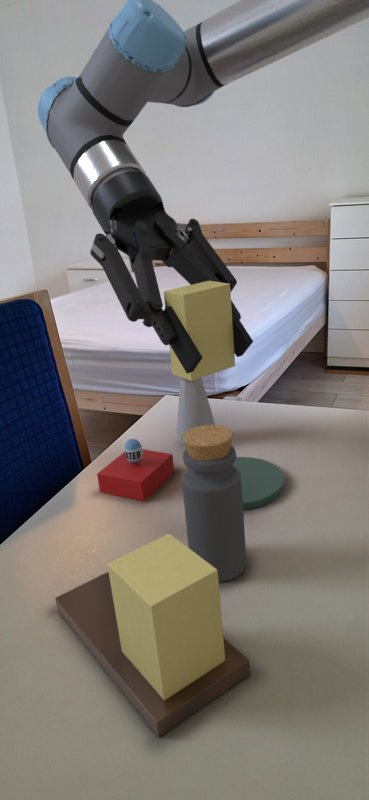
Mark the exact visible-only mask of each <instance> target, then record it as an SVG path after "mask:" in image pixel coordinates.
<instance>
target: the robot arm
mask: <svg viewBox="0 0 369 800" xmlns="http://www.w3.org/2000/svg"><path fill="white" fill-rule="evenodd" d="M367 19H369V0H238V1H237V2H235V3H233V4H231V5H229V6H228V7H226V8H224V9H222V10H220V11H218V12H217V13H215V14H213V15H211V16H210V17H208V18H205V19H204V20H202V21H201V22H199V23H197V24H195V25H194V26H191V27H190V28H188V29H186V30H183V29H182V27H181V26H180V24H178V22H177V21H176V20H175V19H174V18H173V17H172V15H171V14H170V13H168V11H167V10H165V9H164V8H163V7H162V6H161V5H160V4H158V3H157V2H155V1H154V0H127V1H126V2H125V3H124V5H123V6H122V8H121V9H120V11H119V12H118V13H117V14H116V15H115V16H114V18H112V20H111V21H110V22H109V26H108V28H107V29H106V31H105V33H104V34H103V37H102V38H100V39H101V40H100V41H99V43H98V44H97V46H96V48H95V49H94V51H93V53H92V54H91V56H90V58H89V59H88V61H87V63H86V64H85V65H84V67H83V70H81V72H80V74H79V76H78V77H76V76H65V77H60V78H58V79H56V80H55V82H54V83H53V84H52V85H50V86H46V88H45V89H44V90H43V92H42V93H41V95H40V98H39V100H38V103H37V115H38V119H39V122H40V123H41V126H42V128H43V130H44V132H45V134H46V138H47V141H48V143H49V145H50V146H51V147H52V148H53V149H54V150H55V152H56V153H57V155H58V156H59V158H60V159H61V161H62V163H63V164H64V167H66V169H67V171H68V172H69V175H70V176H71V179H72V180H73V181H74V183H75V185H76V187H77V188H78V190H79V192H80V194H81V195H82V198H84V200H85V202H86V203H87V205H88V207H89V209H91V211H92V214H93V216H94V218H95V219H96V221H97V223H98V224H99V227H100V228H101V229H102V231H103V233H104V234H103V233H96V234H95V236H94V239H93V242H92V245H91V248H90V251H89V253H90V256H92V258H93V259H94V260H95V261H96V262H97V263H98V264H99V265H100V266H101V268H102V269H103V271H104V273H105V275H106V277H107V280H108V282H109V283H110V286H111V287H112V290H113V291H114V293H115V295H116V298H117V299H118V302H119V304H120V306H121V308H122V310H123V312H124V314H125V315H126V318H127V319H128V320H129V321H130V322H133V323H134V322H137V321H138V320H143V321H142V324H143V326H145V327H147V328H153V330H154V332H155V333H156V335H157V337H158V338H159V340H160V342H161V343H162V344H163V345H164V346H169V345H170V346H171V348H172V349H173V351H174V353H175V354H176V356H177V358H178V359H179V361H180V363H181V364H182V366H183V368H184V370H185V371H186V373H187V374H188V373H191V372H193V371H194V369H195V368H196V367H197V365H198V364H199V362H200V361H201V359H202V358H203V357H202V356H201V354H200V352H199V351H198V349H197V347H196V346H195V344H194V342H193V341H192V339H191V337H190V336H189V334H188V332H187V331H186V330H185V328H184V326H183V325H182V323H181V321H180V320H179V318H178V316H177V315H176V313H175V311H174V310H173V308H172V307H171V306H169V307H165V306H164V303H163V299H162V296H161V292H160V288H159V283H158V280H157V276H156V275H157V274H156V272H155V268H154V263H153V261H161V262H162V263H163V264H164V265H165V266H166V267H168V268H173V269H174V270H175V271H176V272H177V274H179V275H180V276H181V277H182V278H183V279H184V280H185V281H186V282H187V283H189V284H188V285H193V284H197V283H201V282H206V281H214V282H221V283H228V284H230V292H231V293H232V291H233V290H234V288H235V287H236V285H237V283H238V281H237V279H236V277H235V276H234V275H233V273H232V272H231V270H230V269H229V268H228V266H227V265H226V264H225V263H224V261H223V260H222V259H221V257H220V256H219V254H218V253H217V252H216V250H215V249H214V247H213V246H212V245H211V244H210V242H209V241H208V240H207V238H206V237H205V235H204V234H203V231H202V228H201V225H200V222H199V221H198V220H197V219H195V218H190V219H189V220H188V223H180V222H177V221H176V220H175V219H174V218H173V217H172V216H170V215H169V214H168V213H167V212H166V210H165V206H164V201H163V198H162V196H161V194H160V193H159V191H158V190H157V189H156V186H155V185H154V184H153V182H152V181H151V179H150V177H149V176H148V175H147V173H146V171H145V169H144V167H143V166H142V165H141V163H140V162H139V160H138V159H137V157H136V156H135V154H134V153H133V151H132V149H131V148H130V146H129V145H128V143H127V142H126V140H125V138H124V134H125V133H126V131H127V130H128V129H129V127H130V126H132V124H133V123H134V122H135V120H136V119H137V118H138V116H139V114H140V113H141V112H142V110H143V109H144V107H145V106H146V105H147V104H148V103H155V104H166V105H173V106H176V107H179V108H191V107H193V106H199V105H201V104H203V103H206V102H207V101H208V100H209V99H210V98H211V97H212V96H213V95H214V93H215V92H216V91H217V90H220V89H221V88H223V87H225V86H226V85H227V86H228V85H229V84H231V83H234V82H235V81H238V80H240V79H243V78H244V77H246V76H248V75H251V74H252V73H254V72H256V71H258V70H260V69H263V68H266V67H267V66H269V65H271V64H273V63H276V62H278V61H280V60H282V59H284V58H286V57H288V56H291V55H292V54H295V53H297V52H299V51H301V50H303V49H306V48H307V47H309V46H312V45H313V44H314V45H315V44H316V43H318V42H320V41H323V40H324V39H326V38H328V37H332V36H333V35H336V34H337V33H340V32H342V31H344V30H346V29H348V28H350V27H352V26H354V25H356V24H359V23H361V22H363V21H365V20H367ZM120 252H121V253H123V254H125V255H126V256H127V257H128V261H129V265H130V269H131V272H132V273H134V277H135V278H133V276H132V274H131V272H130V270H129V268H128V266H127V264H126V263H125V261H124V258H123V257H122V255H121V253H120ZM134 279H135V280H134ZM163 307H164V309H163ZM231 307H232V323H233V338H234V353H235V357H236V358H240V357H242V356H244V354H245V353H246V351H247V350H248V349H249V348H250V347H251V346H252V344H254V340H253V339H252V336H250V334H249V332H248V331H247V329H246V328H245V326H244V324H243V323H242V322H241V319H242V315H241V313H240V311H239V310H238V308H237V307H236V305H235V304H234V302H233V300H232V299H231Z"/></svg>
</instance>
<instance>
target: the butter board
mask: <svg viewBox="0 0 369 800" xmlns="http://www.w3.org/2000/svg"><path fill="white" fill-rule="evenodd" d="M54 600H55V605H56V609H57V611H58V613H59V615H61V616H62V618H63V619H64V620H65V622H66V623H67V625H69V626H70V628H71V629H72V630H73V631H74V633H75V634H76V635H77V636H78V638H79V639H80V640H81V642H82V643H83V644H84V645H85V646H86V648H87V649H88V650H89V652H90V653H91V654H92V656H93V657H94V658H95V659H96V660H97V662H98V663H99V664H100V665H101V667H102V668H103V669H104V671H105V672H106V673H107V674H108V675H109V677H110V678H111V680H112V681H113V682H114V683H115V684H116V686H117V687H118V688H119V689H120V691H121V692H122V693H123V694H124V696H125V697H126V698H127V699H128V701H129V702H130V703H131V704H132V706H133V707H134V709H136V711H137V712H138V713H139V715H140V716H141V717H142V718H143V719H144V721H145V722H146V723H147V724H148V726H149V727H150V729H151V730H152V731H153V732H154V734H155V735H156V736H157V738H160V737H161V736H163V735H165V734H166V733H167V732H169V731H170V730H171V729H173V728H175V727H176V726H177V725H178V724H180V723H182V722H183V721H185V720H186V719H187V718H189V717H190V716H192V715H193V714H195V713H196V712H197V711H199V710H201V709H202V708H203V707H205V706H206V705H208V704H209V703H210V702H212V701H213V700H215V699H216V698H218V697H219V696H221V695H222V694H224V693H226V691H228V690H230V689H231V688H233V687H234V686H235V685H237V684H238V683H240V682H241V681H243V680H244V679H245V678H247V677H248V676H250V675H251V668H250V659H249V658H247V657H246V655H244V654H243V653H242V652H241V651H240V650H238V649H237V648H236V647H235V646H234V645H232V644H231V643H230V642H229V641H228V640H227V639H226V638H225V637H223V640H224V652H225V661H224V662H223V663H221V664H220V665H218V666H217V667H215V668H213V669H212V670H210V671H209V672H207V673H206V674H204V675H203V676H201V677H200V678H198V679H197V680H195V681H194V682H192V683H191V684H189V685H188V686H186V687H185V688H183V689H181V690H180V691H178V692H177V693H175V694H174V695H172V696H171V697H169V698H168V699H166V700H163V698H162V697H161V696H160V695H159V694H158V693H157V692H156V690H155V689H154V688H153V687H152V686H151V685H150V683H149V682H148V681H147V680H146V679H145V678H144V676H143V675H142V674H141V673H140V672H139V671H138V670H137V668H136V667H135V666H134V665H133V664H132V663H131V661H130V660H129V659H128V658H127V657H126V656H125V655H124V653H123V652H122V649H121V643H120V637H119V631H118V625H117V619H116V613H115V607H114V601H113V595H112V589H111V583H110V577H109V571H107V572H105V573H102V574H100V575H99V576H97V577H95V578H92V579H90V580H88V581H86V582H84V583H82V584H80V585H78V586H76V587H74V588H72V589H70V590H68V591H66V592H64V593H62V594H60V595H58V596H56V597H54Z"/></svg>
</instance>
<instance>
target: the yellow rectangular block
mask: <svg viewBox="0 0 369 800" xmlns="http://www.w3.org/2000/svg"><path fill="white" fill-rule="evenodd" d="M231 293H232V291H231V292H230V284H228V283H221V282H214V281H206V282H201V283H197V284H193V285H190V284H188V285H184V286H180V287H176V288H172V289H168V290H164V291H163V300H164V308H165V307H169V306H171V307H172V308H173V310H174V311H175V313H176V315H177V316H178V318H179V320H180V321H181V323H182V325H183V326H184V328H185V330H186V331H187V332H188V334H189V336H190V337H191V339H192V341H193V342H194V344H195V346H196V347H197V349H198V351H199V352H200V354H201V356H202V357H203V358H202V359H201V361H200V362H199V364H198V365H197V367H196V368H195V369H194V371H193V372H191V373H188V374H187V373H186V371H185V370H184V368H183V366H182V364H181V363H180V361H179V359H178V358H177V356H176V354H175V353H174V351H173V349H172V348H171V346H170V345H168V346H169V355H170V356H169V357H170V364H171V374H172V375H174V376H176V377H177V376H179V377H182V378H185V379H188V380H190V381H193V380H196V379H199V378H205V377H207V376H210V375H214V374H217V373H219V372H222V371H225V370H228V369H231V368H234V367H236V355H235V353H234V338H233V323H232V307H231V300H232V294H231Z"/></svg>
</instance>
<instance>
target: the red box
mask: <svg viewBox="0 0 369 800" xmlns="http://www.w3.org/2000/svg"><path fill="white" fill-rule="evenodd" d="M123 449H124V451H123V452H122V453H121V454H120V455H119V456H117V457H116V458H115V459H113V460H112V461H111V462H110V463H108V464H107V465H106V466H105V467H103V468H102V469H101V470H99V471H98V472H97V473H96V477H97V483H98V488H99V493H101V494H106V495H109V496H115V497H120V498H124V499H129V500H133V501H139V502H144V503H145V501H146V500H147V499H149V497H150V496H151V495H153V494H154V492H155V491H157V489H158V488H160V487H161V486H162V485H163V484H164V483H165V482H166V481H167V480H168V479H169V478H171V476H172V475H173V474H174V473H175V465H174V455H173V453H169V452H162V451H156V450H149V449H144V448H143V446H142V444H141V442H140V441H139V440H138V439H136V438H129V439H128V440H126V443H125V445H124V448H123Z"/></svg>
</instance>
